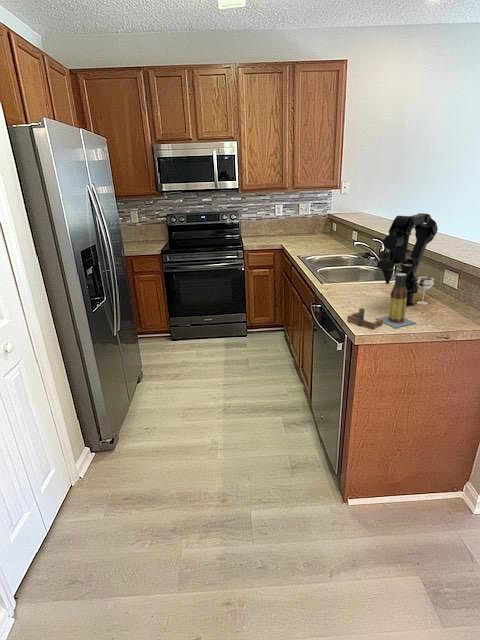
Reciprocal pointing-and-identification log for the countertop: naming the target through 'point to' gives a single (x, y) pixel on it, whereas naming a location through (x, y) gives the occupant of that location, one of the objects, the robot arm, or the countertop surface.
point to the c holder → (359, 319)
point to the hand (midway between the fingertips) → (394, 282)
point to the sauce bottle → (398, 299)
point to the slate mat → (396, 324)
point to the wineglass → (424, 286)
